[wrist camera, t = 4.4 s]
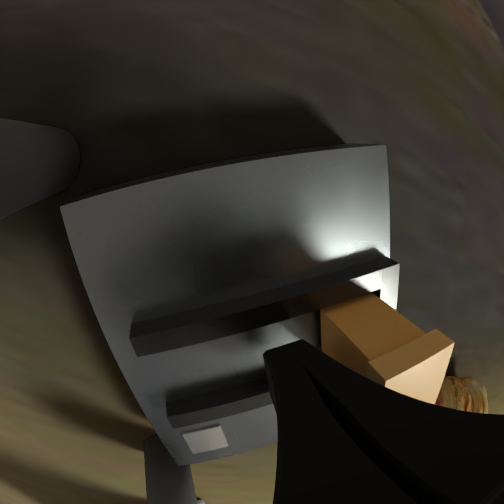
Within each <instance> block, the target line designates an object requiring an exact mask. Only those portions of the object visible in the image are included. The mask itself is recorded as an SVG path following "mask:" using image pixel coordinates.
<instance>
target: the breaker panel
mask: <svg viewBox="0 0 504 504" xmlns="http://www.w3.org/2000/svg"><path fill="white" fill-rule="evenodd" d="M60 210H61V213H62V217H63V221H64V225H65V228H66V232H67V235H68V238H69V242H70V245H71V248H72V251H73V255H74V258H75V261H76V264H77V267H78V270H79V272H80V275H81V278H82V281H83V284H84V286H85V289H86V292H87V294H88V297H89V300H90V302H91V305H92V307H93V310H94V312H95V315H96V317H97V319H98V322H99V324H100V326H101V329H102V331H103V333H104V336H105V338H106V340H107V342H108V344H109V347H110V349H111V351H112V353H113V355H114V357H115V359H116V361H117V363H118V365H119V367H120V369H121V371H122V373H123V375H124V377H125V379H126V381H127V383H128V385H129V387H130V388H131V390H132V392H133V394H134V396H135V398H136V399H137V401H138V403H139V405H140V406H141V408H142V410H143V412H144V413H145V415H146V417H147V418H148V420H149V422H150V423H151V425H152V427H153V428H154V430H155V432H156V433H157V435H158V436H159V438H160V439H161V441H162V443H163V444H164V446H165V447H166V449H167V450H168V452H169V453H170V455H171V456H172V458H173V459H174V460H175V462H176V463H177V465H178V466H183V465H188V464H194V463H199V462H204V461H208V460H213V459H218V458H222V457H226V456H230V455H234V454H238V453H242V452H246V451H249V450H253V449H256V448H260V447H263V446H266V445H270V444H273V443H276V442H278V431H277V414H276V411H275V408H274V405H273V402H272V399H271V396H270V392H269V387H268V381H267V376H266V370H265V365H264V359H263V353H264V352H265V351H266V350H269V349H272V348H275V347H279V346H282V345H285V344H288V343H291V342H294V341H298V340H301V339H304V340H305V341H307V342H309V343H310V344H312V345H313V346H315V347H316V348H318V349H319V350H321V351H322V342H321V316H320V309H323V308H326V307H329V306H332V305H335V304H338V303H341V302H344V301H347V300H350V299H353V298H355V297H358V296H361V295H364V294H367V293H370V292H372V293H373V294H375V295H376V296H377V297H379V298H380V299H381V300H383V301H384V302H385V303H387V304H388V305H389V306H391V307H392V308H393V309H395V310H396V306H397V294H398V280H399V263H397V262H395V261H394V260H392V259H390V203H389V180H388V164H387V152H386V145H378V144H336V145H326V146H317V147H308V148H300V149H292V150H285V151H278V152H271V153H264V154H258V155H252V156H245V157H240V158H234V159H228V160H223V161H217V162H212V163H207V164H202V165H197V166H192V167H187V168H183V169H178V170H173V171H169V172H165V173H160V174H156V175H152V176H148V177H144V178H140V179H136V180H132V181H128V182H124V183H120V184H116V185H113V186H109V187H106V188H102V189H98V190H95V191H92V192H88V193H85V194H82V195H80V196H78V197H76V198H75V199H73V200H71V201H69V202H67V203H66V204H64V205H62V206H60Z"/></svg>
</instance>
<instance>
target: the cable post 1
mask: <svg viewBox="0 0 504 504" xmlns="http://www.w3.org/2000/svg"><path fill="white" fill-rule="evenodd" d="M79 165H80V151H79V147H78V144H77V142H76V140H75V138H74V137H73V136H72V135H71V134H70V133H69V132H68V131H66V130H64V129H62V128H58V127H52V126H47V125H41V124H35V123H29V122H23V121H16V120H9V119H2V118H0V220H2V219H3V218H5V217H7V216H9V215H11V214H13V213H15V212H18V211H20V210H22V209H24V208H26V207H28V206H30V205H32V204H34V203H37V202H39V201H41V200H43V199H45V198H48V197H50V196H52V195H55V194H57V193H59V192H61V191H63V190H65V189H66V188H67V187H68V186H69V185H70V184H71V183H72V182H73V180H74V178H75V177H76V175H77V172H78V169H79Z"/></svg>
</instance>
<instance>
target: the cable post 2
mask: <svg viewBox="0 0 504 504" xmlns="http://www.w3.org/2000/svg"><path fill="white" fill-rule="evenodd" d="M144 459H145V477H146V491H147V502H148V504H197V499H196V494H195V490H194V484H193V479H192V474H191V468H190V464H188V465H183V466H178V465H177V463H176V462H175V460H174V459H173V458H172V456H171V455H170V453H169V452H168V450H167V449H166V447H165V446H164V444H163V443H162V441H161V439H160V438H159V436H158V435H154V436H151V437H149V438H148V439H147V440H146V441H145V442H144Z"/></svg>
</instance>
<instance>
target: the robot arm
mask: <svg viewBox="0 0 504 504" xmlns="http://www.w3.org/2000/svg"><path fill="white" fill-rule="evenodd" d="M263 359H264V365H265V370H266V376H267V381H268V387H269V392H270V396H271V399H272V402H273V405H274V408H275V411H276V414H277V431H278V447H277V468H276V481H275V491H274V499H273V504H504V415H497V414H485V413H476V412H468V411H462V410H457V409H452V408H448V407H443V406H439V405H435V404H431V403H428V402H424V401H421V400H418V399H415V398H412V397H409V396H407V395H404V394H401V393H398V392H396V391H394V390H391V389H389V388H387V387H385V386H382V385H380V384H378V383H376V382H374V381H372V380H370V379H368V378H366V377H364V376H362V375H360V374H359V373H357V372H355V371H353V370H352V369H350V368H348V367H346V366H345V365H343V364H341V363H340V362H338V361H336V360H335V359H333V358H331V357H330V356H328V355H327V354H325V353H324V352H322V351H321V350H319V349H318V348H316V347H315V346H313V345H312V344H310V343H309V342H307V341H305V340H304V339H301V340H298V341H294V342H291V343H288V344H285V345H282V346H279V347H275V348H272V349H269V350H266V351H265V352H264V353H263ZM197 504H206V503H205V502H204V501H202V500H197Z"/></svg>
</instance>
